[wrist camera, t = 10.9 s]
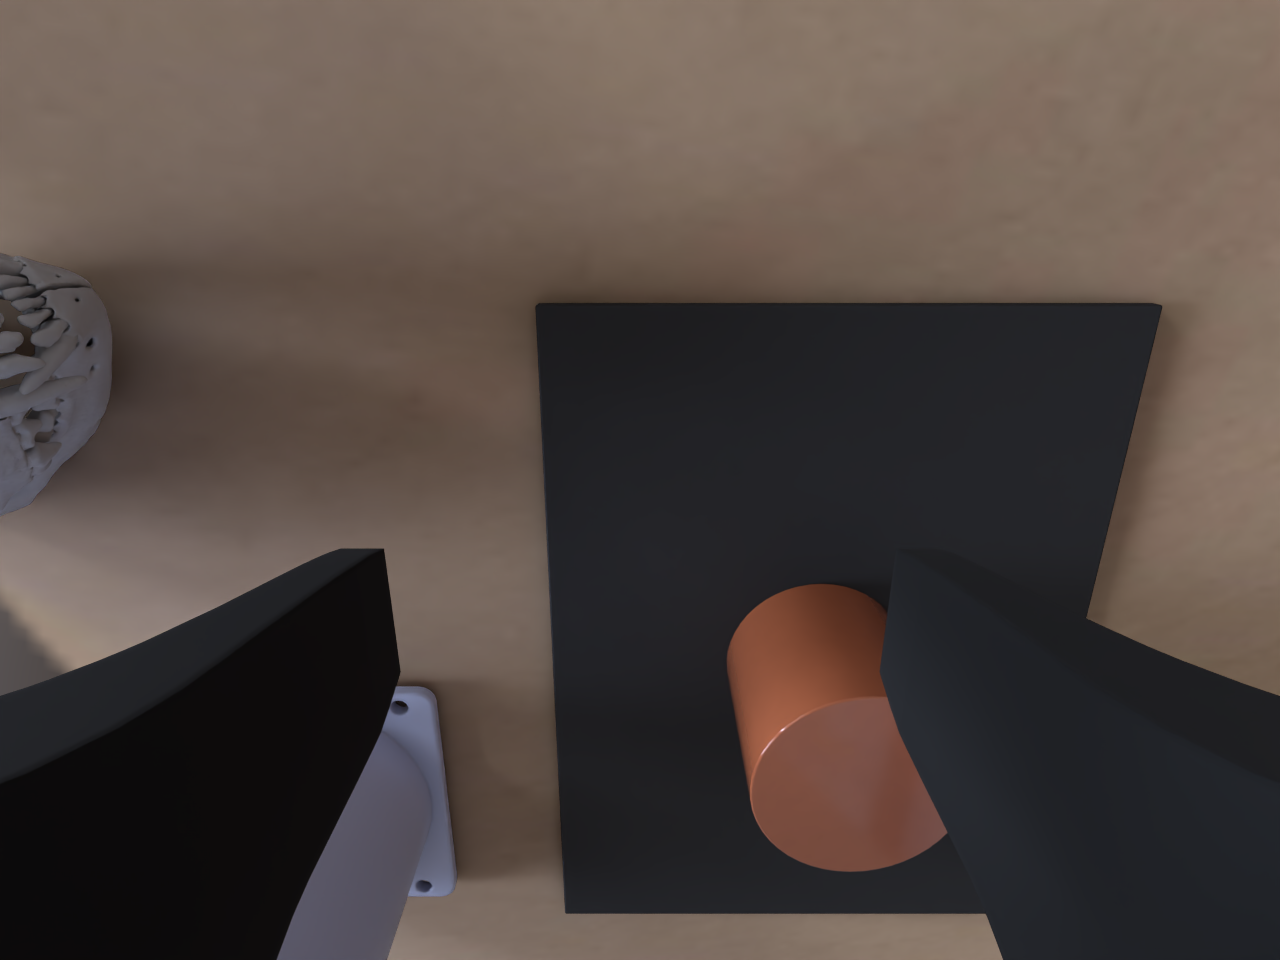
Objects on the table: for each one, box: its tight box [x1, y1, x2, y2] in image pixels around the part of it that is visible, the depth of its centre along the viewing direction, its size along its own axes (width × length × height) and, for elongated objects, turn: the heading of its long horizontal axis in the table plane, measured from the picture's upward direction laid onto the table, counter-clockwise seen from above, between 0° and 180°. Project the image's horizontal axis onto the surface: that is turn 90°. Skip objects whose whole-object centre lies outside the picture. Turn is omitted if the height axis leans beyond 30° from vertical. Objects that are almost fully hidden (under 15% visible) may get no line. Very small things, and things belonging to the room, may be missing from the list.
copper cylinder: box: [727, 584, 948, 872], centre depth 19 cm, size 5×5×5 cm
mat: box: [536, 303, 1162, 914], centre depth 22 cm, size 15×20×1 cm
